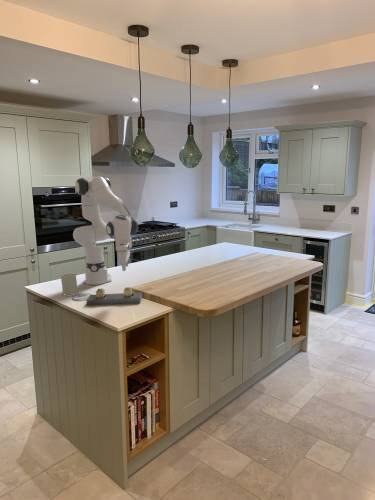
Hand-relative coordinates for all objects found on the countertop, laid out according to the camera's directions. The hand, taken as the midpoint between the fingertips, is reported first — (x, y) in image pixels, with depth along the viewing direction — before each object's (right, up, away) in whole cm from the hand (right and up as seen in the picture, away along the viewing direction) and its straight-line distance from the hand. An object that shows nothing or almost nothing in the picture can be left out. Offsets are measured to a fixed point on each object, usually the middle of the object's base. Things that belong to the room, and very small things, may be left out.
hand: (125, 268), depth 219 cm
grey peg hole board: (-6, -19, +3) cm, 20 cm away
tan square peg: (-14, -20, +3) cm, 25 cm away
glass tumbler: (-38, -17, +22) cm, 47 cm away
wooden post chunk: (+1, -19, +3) cm, 19 cm away
